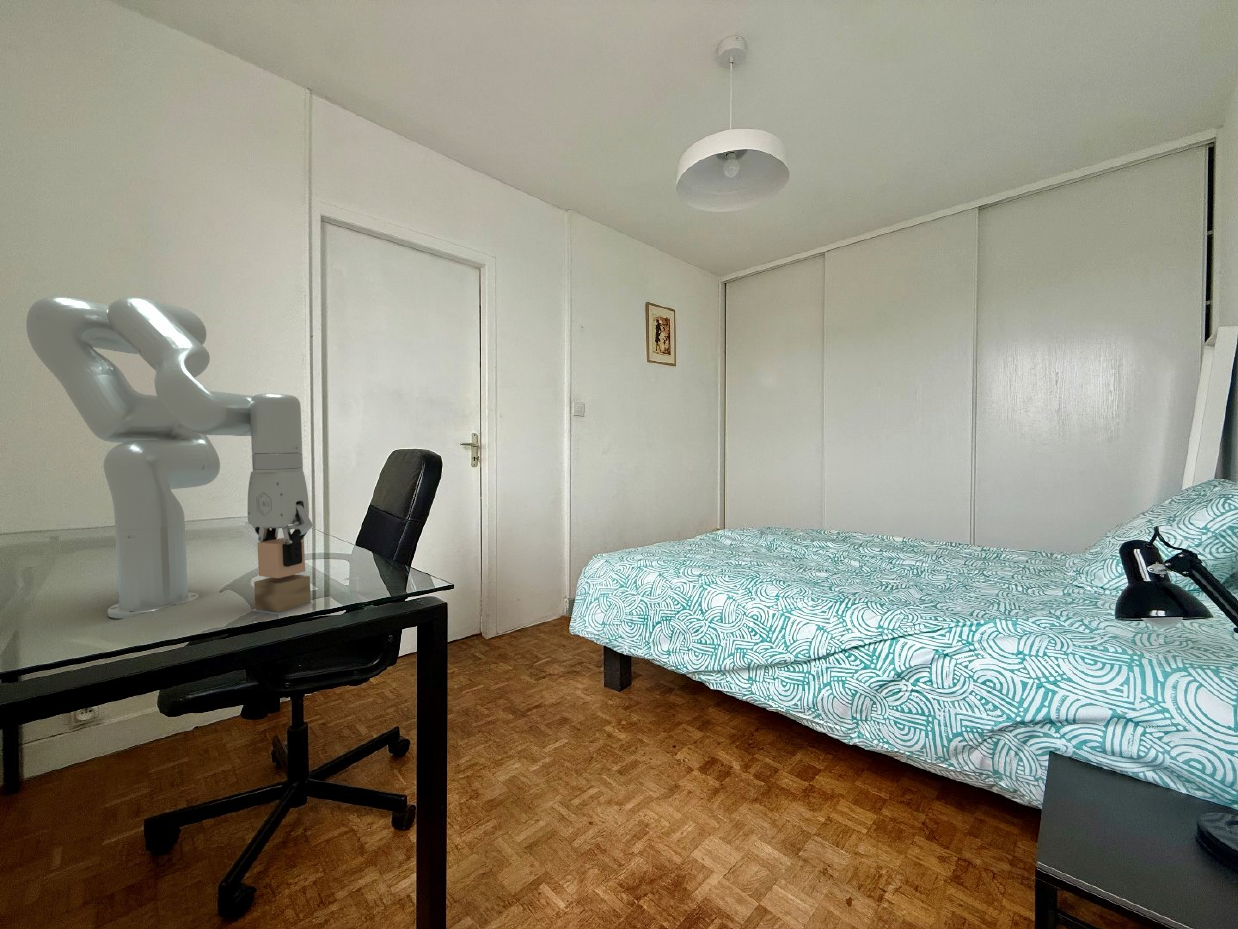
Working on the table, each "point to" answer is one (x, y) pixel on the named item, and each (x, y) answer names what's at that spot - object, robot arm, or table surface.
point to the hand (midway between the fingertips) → (282, 562)
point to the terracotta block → (276, 560)
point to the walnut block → (282, 593)
